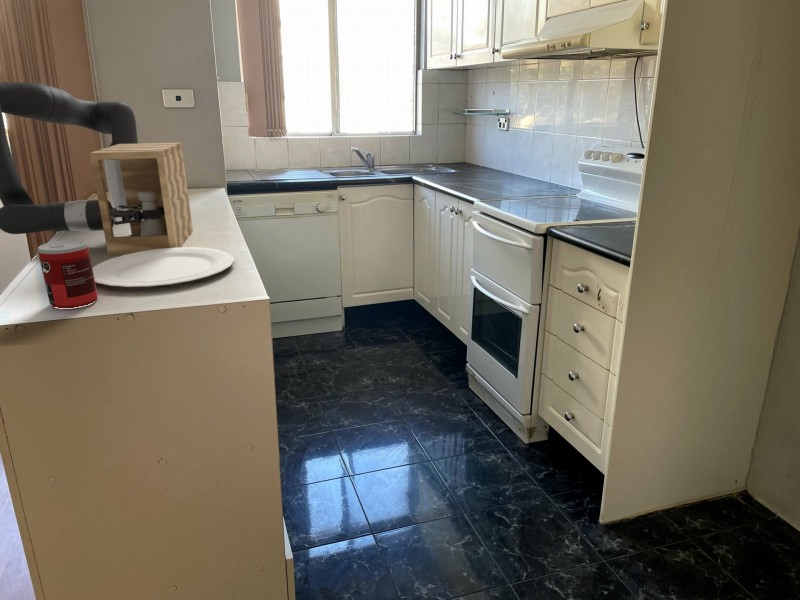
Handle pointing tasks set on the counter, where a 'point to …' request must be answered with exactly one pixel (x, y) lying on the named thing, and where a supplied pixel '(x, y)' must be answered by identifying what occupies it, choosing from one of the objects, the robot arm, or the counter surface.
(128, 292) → the counter surface
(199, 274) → the plate
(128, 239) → the open-side box
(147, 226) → the salt shaker
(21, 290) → the counter surface
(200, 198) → the counter surface
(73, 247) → the canned food
